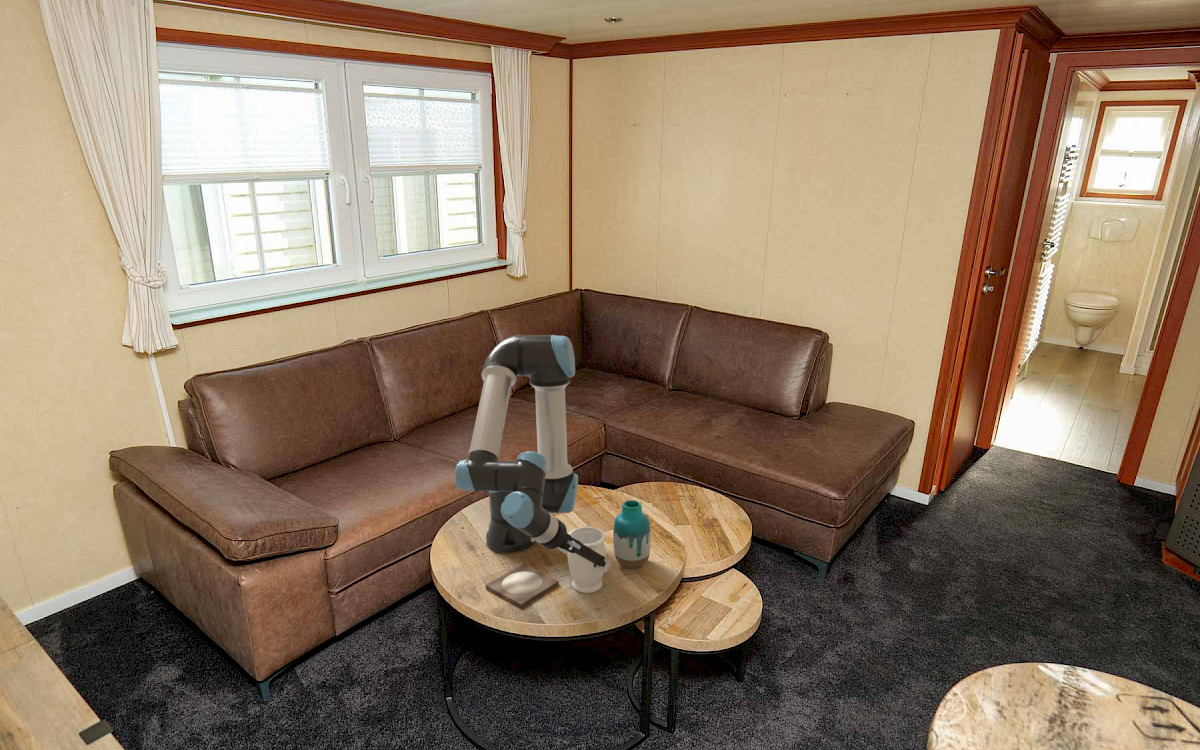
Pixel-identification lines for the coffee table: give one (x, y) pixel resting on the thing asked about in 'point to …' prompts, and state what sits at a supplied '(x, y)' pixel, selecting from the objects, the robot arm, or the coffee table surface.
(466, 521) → the coffee table surface
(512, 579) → the walnut board
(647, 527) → the vase
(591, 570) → the jar
